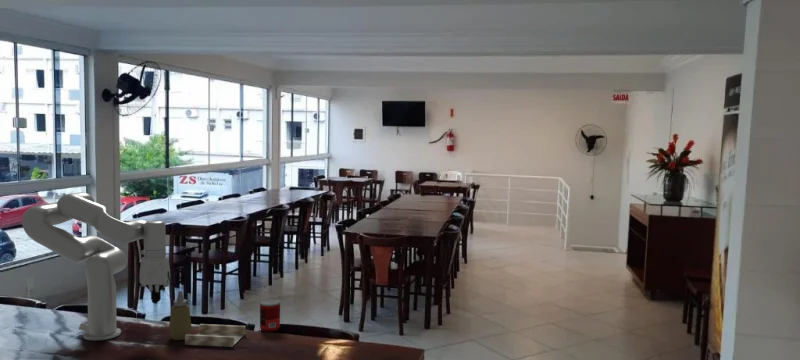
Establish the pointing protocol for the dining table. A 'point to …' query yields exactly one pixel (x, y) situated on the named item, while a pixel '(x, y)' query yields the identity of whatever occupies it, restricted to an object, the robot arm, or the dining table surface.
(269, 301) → the canned food
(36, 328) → the dining table surface
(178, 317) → the squeeze bottle
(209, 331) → the cradle
